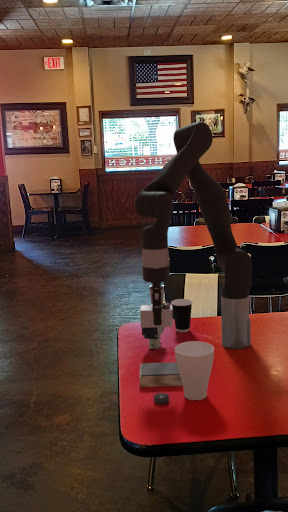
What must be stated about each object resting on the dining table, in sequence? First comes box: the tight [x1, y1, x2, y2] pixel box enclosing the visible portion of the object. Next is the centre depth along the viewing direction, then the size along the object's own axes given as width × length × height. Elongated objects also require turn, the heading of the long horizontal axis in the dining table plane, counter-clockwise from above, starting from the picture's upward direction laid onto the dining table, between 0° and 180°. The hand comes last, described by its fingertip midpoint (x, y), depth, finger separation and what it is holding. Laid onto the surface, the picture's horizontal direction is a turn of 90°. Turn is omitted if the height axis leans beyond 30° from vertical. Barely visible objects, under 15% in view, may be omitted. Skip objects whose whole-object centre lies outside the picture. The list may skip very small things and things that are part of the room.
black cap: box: [153, 392, 170, 406], centre depth 129 cm, size 4×4×2 cm
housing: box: [139, 302, 174, 329], centre depth 138 cm, size 9×5×6 cm, turn 89°
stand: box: [138, 361, 183, 388], centre depth 142 cm, size 12×9×3 cm
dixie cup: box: [170, 298, 193, 333], centre depth 181 cm, size 8×8×11 cm
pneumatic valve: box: [141, 327, 165, 350], centre depth 165 cm, size 6×12×12 cm, turn 163°
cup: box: [174, 340, 215, 401], centre depth 130 cm, size 10×10×14 cm
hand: (157, 321), depth 139 cm, fingers closed on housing, 5 cm apart
